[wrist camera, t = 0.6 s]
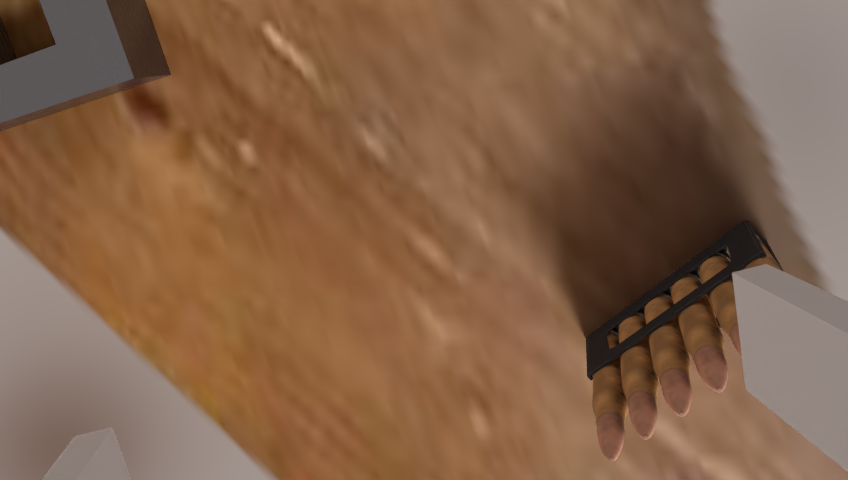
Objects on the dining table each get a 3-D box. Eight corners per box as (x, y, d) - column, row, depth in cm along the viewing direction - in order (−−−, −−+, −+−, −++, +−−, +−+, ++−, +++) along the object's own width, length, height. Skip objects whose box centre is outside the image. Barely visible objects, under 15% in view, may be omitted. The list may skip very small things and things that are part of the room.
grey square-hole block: (-86, -57, 44) (-142, -64, 40) (95, -139, 40) (50, -154, 36) (-8, 133, 46) (-55, 141, 43) (170, 74, 42) (134, 78, 39)
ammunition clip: (606, 361, 41) (608, 487, 29) (585, 338, 41) (578, 455, 29) (769, 245, 37) (842, 340, 26) (746, 219, 37) (809, 302, 25)
